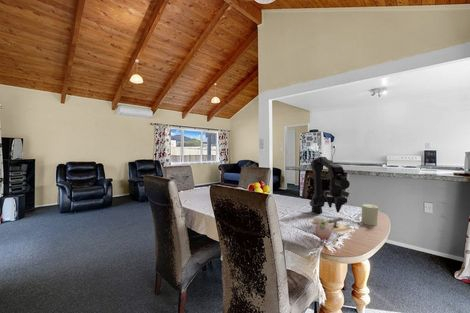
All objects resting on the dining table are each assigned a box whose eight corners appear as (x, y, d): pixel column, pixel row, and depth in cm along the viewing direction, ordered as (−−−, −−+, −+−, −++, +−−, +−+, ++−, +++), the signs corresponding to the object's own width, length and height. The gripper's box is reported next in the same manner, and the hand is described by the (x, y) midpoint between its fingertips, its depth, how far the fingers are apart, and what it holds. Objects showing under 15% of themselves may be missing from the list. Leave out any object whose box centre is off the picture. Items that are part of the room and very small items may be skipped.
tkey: (331, 229, 130) (331, 221, 130) (327, 228, 132) (328, 220, 132) (342, 225, 136) (343, 218, 136) (339, 224, 138) (339, 217, 138)
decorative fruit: (332, 244, 114) (333, 226, 114) (315, 242, 116) (316, 224, 116) (329, 237, 123) (330, 219, 123) (314, 235, 125) (315, 218, 125)
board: (308, 224, 141) (308, 222, 141) (321, 220, 150) (321, 217, 149) (341, 236, 124) (341, 234, 124) (354, 231, 132) (354, 228, 132)
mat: (292, 226, 138) (292, 225, 138) (302, 222, 144) (302, 222, 144) (305, 231, 130) (305, 231, 130) (315, 227, 136) (315, 227, 136)
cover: (313, 221, 143) (313, 216, 143) (319, 219, 146) (319, 215, 146) (324, 225, 136) (325, 220, 136) (330, 223, 140) (330, 218, 140)
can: (369, 226, 140) (370, 207, 139) (357, 221, 149) (358, 203, 148) (380, 224, 142) (381, 206, 141) (368, 219, 151) (369, 202, 150)
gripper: (356, 188, 128) (355, 214, 129) (339, 182, 146) (338, 205, 148) (338, 188, 127) (337, 215, 128) (323, 182, 146) (322, 205, 147)
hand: (333, 209), depth 138 cm, fingers open, 9 cm apart
